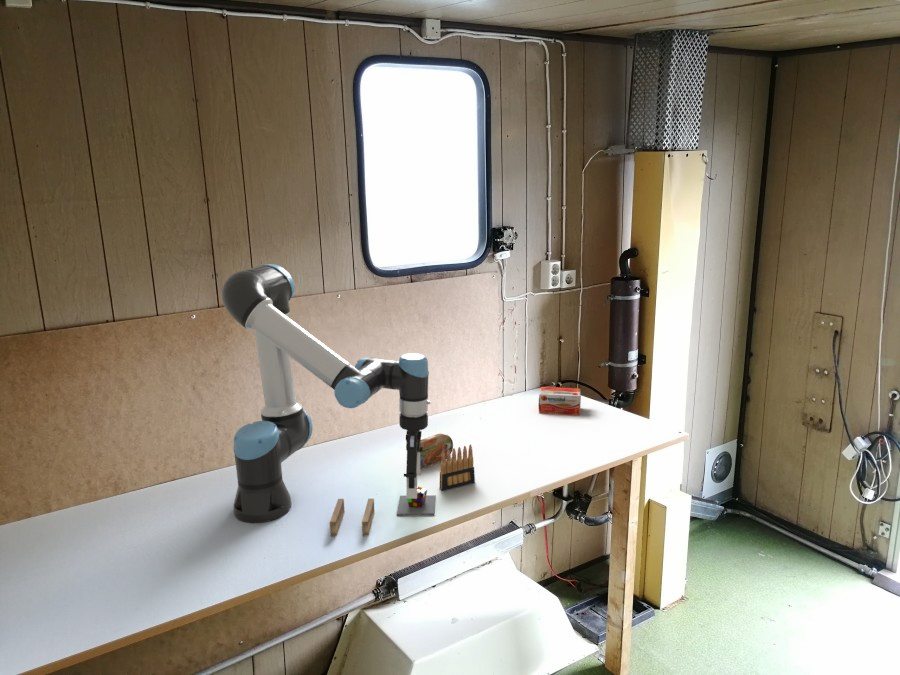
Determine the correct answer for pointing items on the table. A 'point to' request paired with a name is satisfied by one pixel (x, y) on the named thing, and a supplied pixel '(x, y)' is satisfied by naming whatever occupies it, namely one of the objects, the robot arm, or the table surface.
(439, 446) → the tin
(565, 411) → the medicine box
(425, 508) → the rubber pad
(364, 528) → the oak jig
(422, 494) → the rubik's cube
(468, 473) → the ammunition clip
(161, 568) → the table surface
